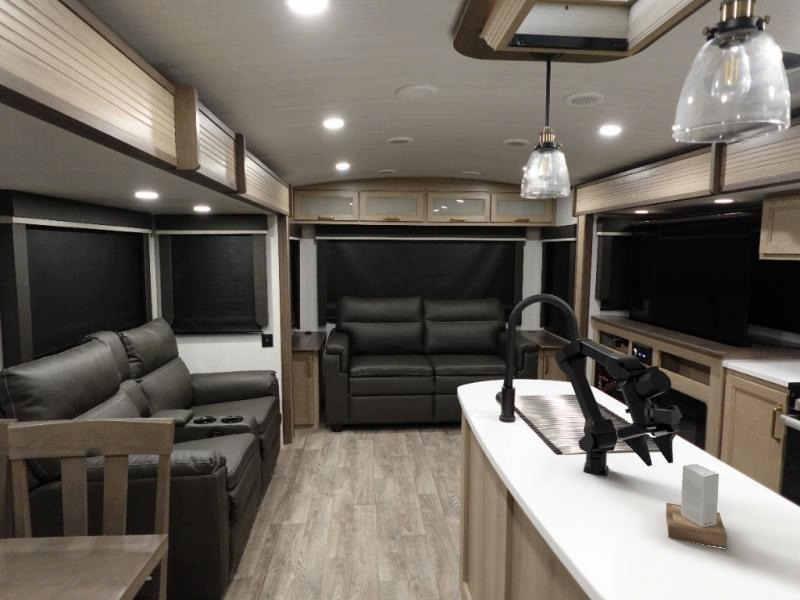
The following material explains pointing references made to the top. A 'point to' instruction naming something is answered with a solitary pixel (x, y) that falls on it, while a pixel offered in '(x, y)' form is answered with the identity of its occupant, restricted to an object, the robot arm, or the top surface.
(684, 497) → the skincare box
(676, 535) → the walnut tray
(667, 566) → the top surface
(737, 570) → the top surface
